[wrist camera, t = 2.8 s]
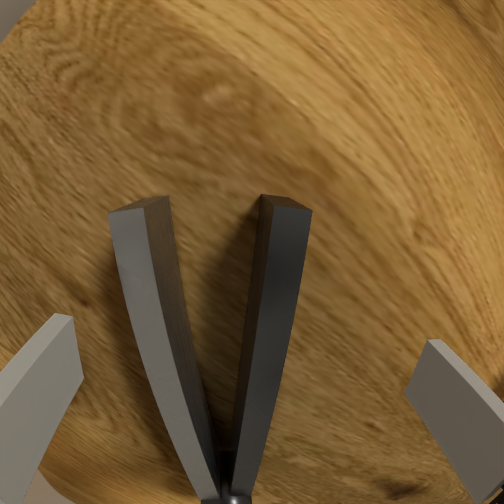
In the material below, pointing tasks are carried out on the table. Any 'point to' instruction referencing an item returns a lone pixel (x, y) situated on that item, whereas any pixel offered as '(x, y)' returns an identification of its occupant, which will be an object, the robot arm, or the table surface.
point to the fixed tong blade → (264, 340)
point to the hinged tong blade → (166, 334)
